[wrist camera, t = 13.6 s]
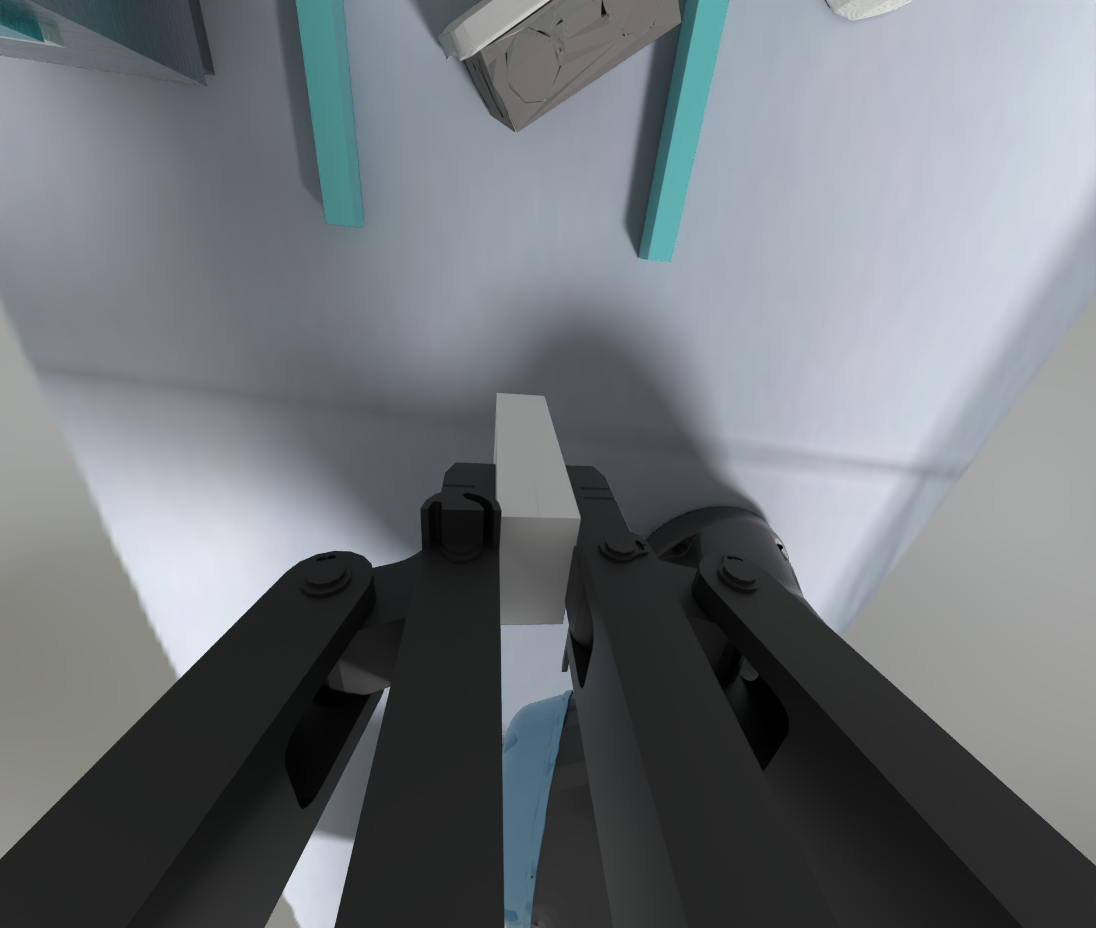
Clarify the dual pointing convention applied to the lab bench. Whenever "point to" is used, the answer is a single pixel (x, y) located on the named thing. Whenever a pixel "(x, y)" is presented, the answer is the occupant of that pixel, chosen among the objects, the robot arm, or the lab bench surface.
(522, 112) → the electrical switch
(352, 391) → the lab bench surface
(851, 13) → the paper towel roll
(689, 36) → the teal bay
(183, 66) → the control unit
